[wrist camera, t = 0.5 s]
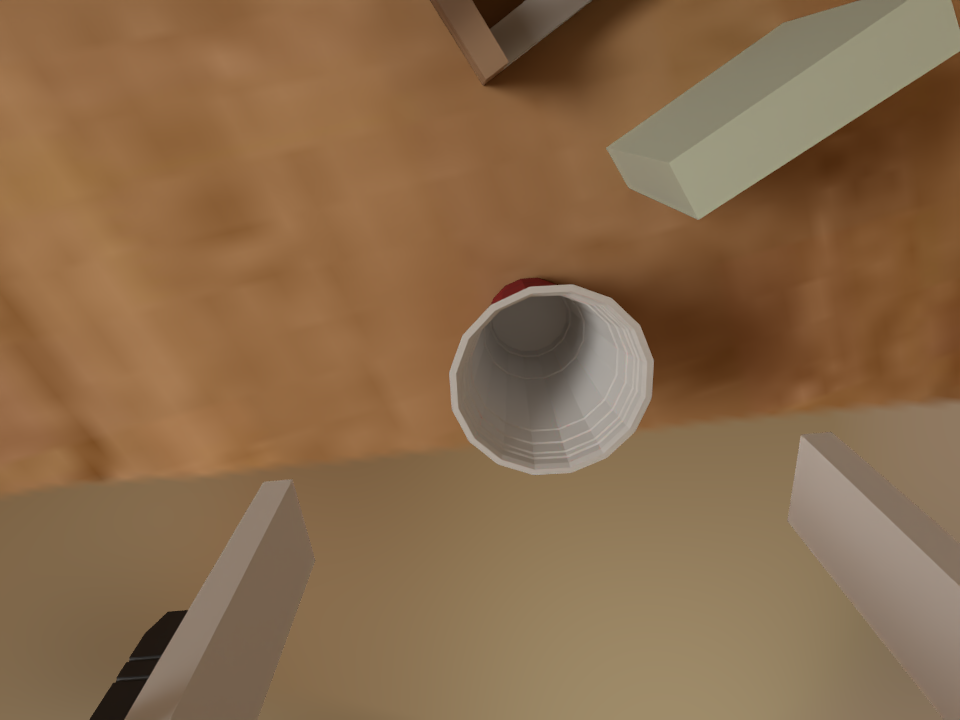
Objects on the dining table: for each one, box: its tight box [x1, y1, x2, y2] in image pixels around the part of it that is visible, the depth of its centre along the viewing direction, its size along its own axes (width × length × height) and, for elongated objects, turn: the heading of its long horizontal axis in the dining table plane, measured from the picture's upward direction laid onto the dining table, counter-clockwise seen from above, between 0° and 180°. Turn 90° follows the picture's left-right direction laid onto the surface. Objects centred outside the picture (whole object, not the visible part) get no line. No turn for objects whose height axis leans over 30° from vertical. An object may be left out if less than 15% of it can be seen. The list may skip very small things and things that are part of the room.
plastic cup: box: [449, 278, 654, 475], centre depth 34 cm, size 11×11×12 cm
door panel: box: [606, 0, 960, 220], centre depth 29 cm, size 3×12×12 cm, turn 125°
